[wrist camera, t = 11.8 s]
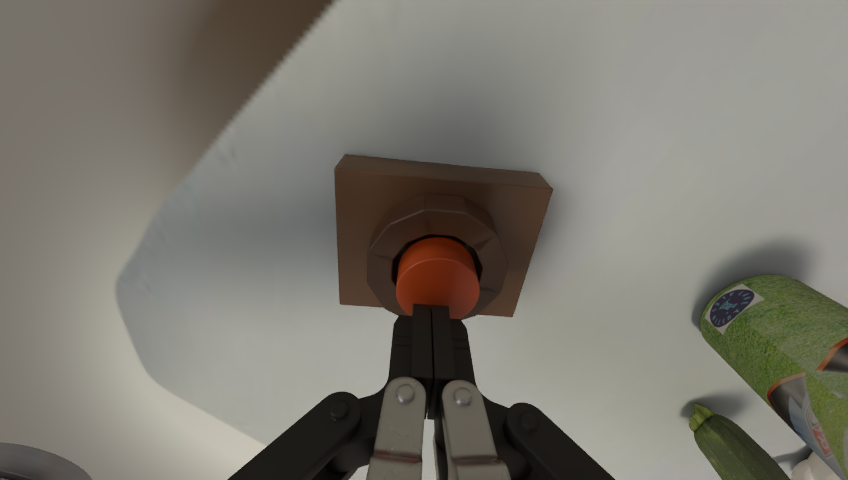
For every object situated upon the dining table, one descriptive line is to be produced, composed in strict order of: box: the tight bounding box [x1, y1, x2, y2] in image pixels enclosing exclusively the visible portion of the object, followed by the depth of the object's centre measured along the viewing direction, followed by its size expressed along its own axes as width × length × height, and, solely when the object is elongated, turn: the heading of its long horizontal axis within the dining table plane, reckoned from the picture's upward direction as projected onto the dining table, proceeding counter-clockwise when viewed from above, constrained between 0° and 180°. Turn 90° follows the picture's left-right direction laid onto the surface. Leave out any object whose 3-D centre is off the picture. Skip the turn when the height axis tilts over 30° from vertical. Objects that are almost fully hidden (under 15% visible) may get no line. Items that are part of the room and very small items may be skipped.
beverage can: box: [700, 275, 848, 480], centre depth 16 cm, size 6×7×12 cm
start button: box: [396, 237, 480, 319], centre depth 15 cm, size 4×4×2 cm
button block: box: [334, 155, 553, 320], centre depth 17 cm, size 10×8×4 cm
